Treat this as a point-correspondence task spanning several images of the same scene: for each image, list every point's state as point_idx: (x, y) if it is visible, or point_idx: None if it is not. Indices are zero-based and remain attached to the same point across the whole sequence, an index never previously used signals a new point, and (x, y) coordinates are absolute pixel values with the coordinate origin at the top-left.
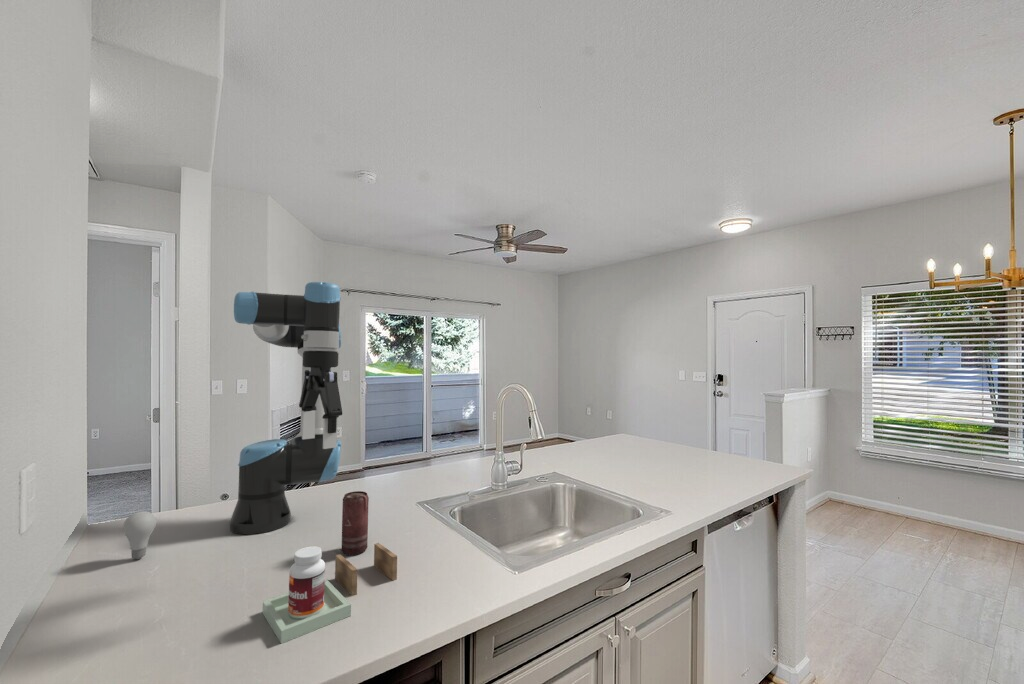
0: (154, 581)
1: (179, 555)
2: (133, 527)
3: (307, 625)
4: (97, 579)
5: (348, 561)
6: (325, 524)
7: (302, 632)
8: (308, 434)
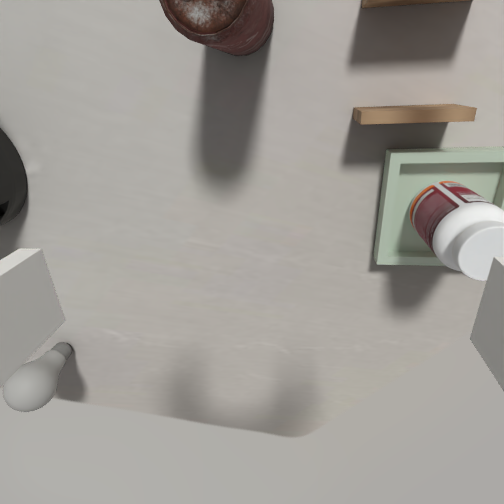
0: (161, 340)
1: (78, 305)
2: (50, 397)
3: None
4: (116, 381)
5: (418, 110)
6: (21, 23)
7: None
8: (34, 308)
